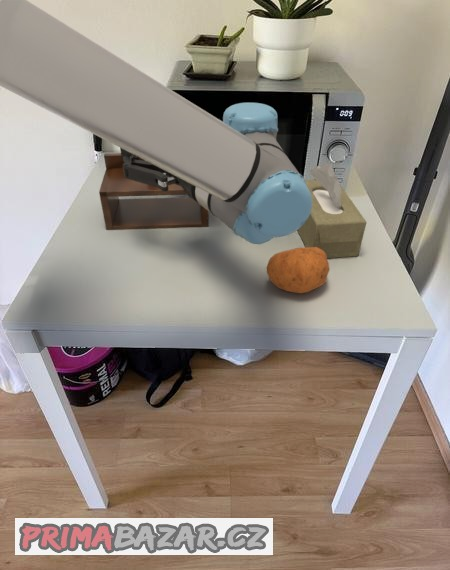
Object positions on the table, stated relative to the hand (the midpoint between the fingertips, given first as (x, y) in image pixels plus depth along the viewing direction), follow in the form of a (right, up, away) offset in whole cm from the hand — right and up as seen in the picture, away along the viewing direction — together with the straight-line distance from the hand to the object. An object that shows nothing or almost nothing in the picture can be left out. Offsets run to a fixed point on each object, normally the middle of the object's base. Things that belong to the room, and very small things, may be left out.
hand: (153, 144), depth 89 cm
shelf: (-1, -12, +11) cm, 17 cm away
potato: (+27, -28, -8) cm, 40 cm away
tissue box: (+35, -17, +6) cm, 39 cm away
